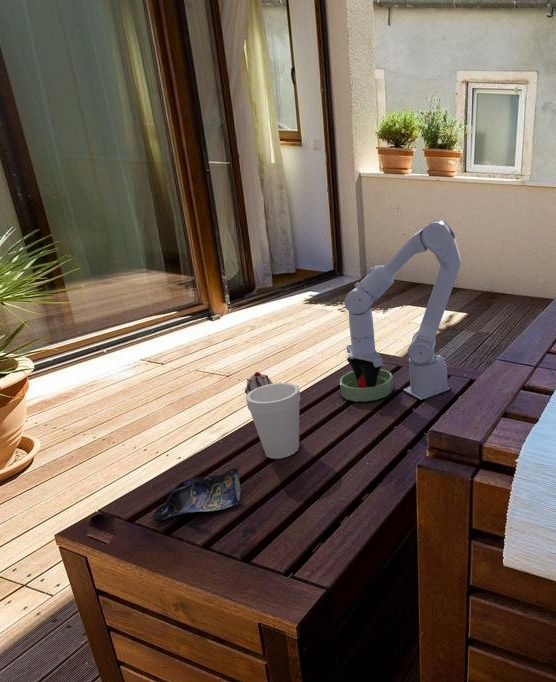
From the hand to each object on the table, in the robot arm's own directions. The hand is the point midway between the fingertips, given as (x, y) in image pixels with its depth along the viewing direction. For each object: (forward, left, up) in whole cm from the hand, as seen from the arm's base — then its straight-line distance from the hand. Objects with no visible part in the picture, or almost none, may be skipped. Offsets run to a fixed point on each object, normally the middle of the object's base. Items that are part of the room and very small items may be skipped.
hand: (366, 384), depth 123 cm
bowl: (0, 0, -2) cm, 2 cm away
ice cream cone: (+27, +5, -2) cm, 27 cm away
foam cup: (+27, +13, -2) cm, 30 cm away
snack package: (+44, +21, -2) cm, 49 cm away
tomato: (0, 0, -2) cm, 2 cm away
